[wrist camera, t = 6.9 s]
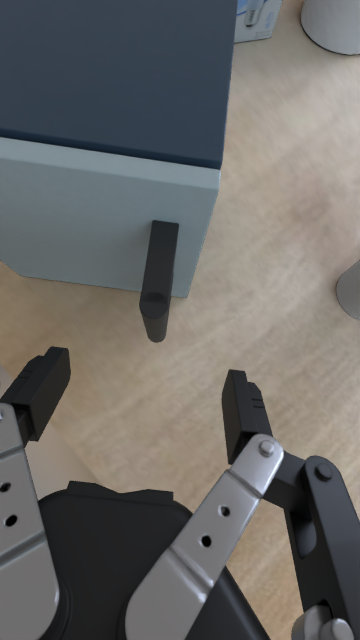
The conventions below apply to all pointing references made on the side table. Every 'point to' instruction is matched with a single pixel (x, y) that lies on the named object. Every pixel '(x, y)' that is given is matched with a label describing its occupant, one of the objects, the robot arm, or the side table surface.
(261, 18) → the light bulb box
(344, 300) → the dixie cup
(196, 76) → the cabinet
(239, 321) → the side table surface
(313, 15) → the toilet tissue
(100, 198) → the door
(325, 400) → the side table surface
